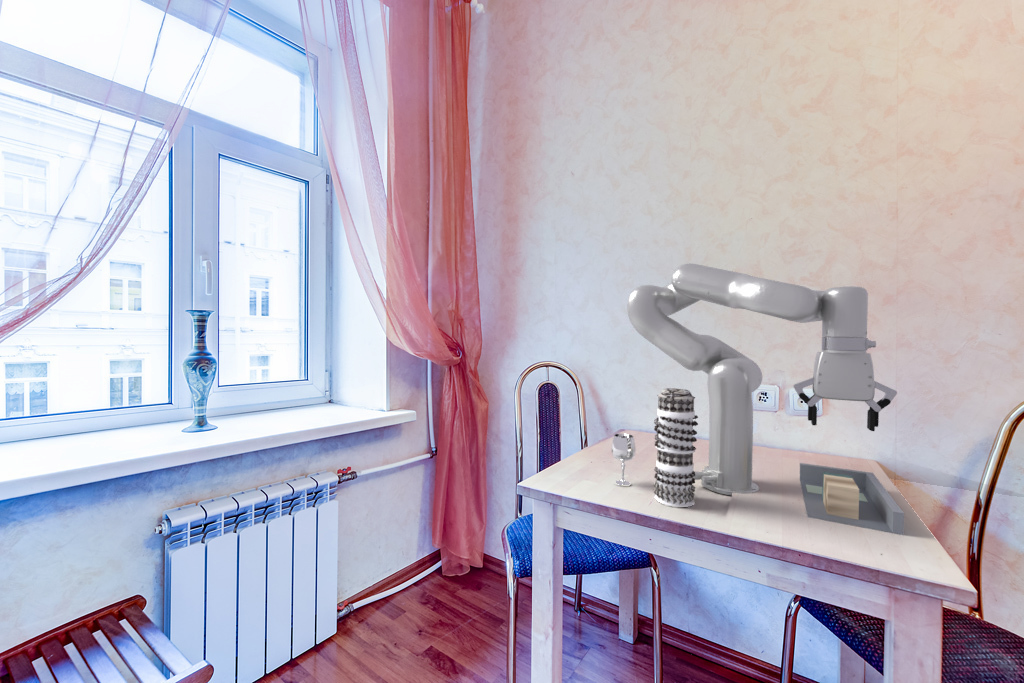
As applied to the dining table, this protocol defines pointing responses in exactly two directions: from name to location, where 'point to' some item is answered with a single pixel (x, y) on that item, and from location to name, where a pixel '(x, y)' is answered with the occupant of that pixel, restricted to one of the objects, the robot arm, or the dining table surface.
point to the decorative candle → (675, 448)
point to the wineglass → (623, 451)
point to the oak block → (840, 495)
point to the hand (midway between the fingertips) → (841, 427)
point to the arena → (873, 500)
